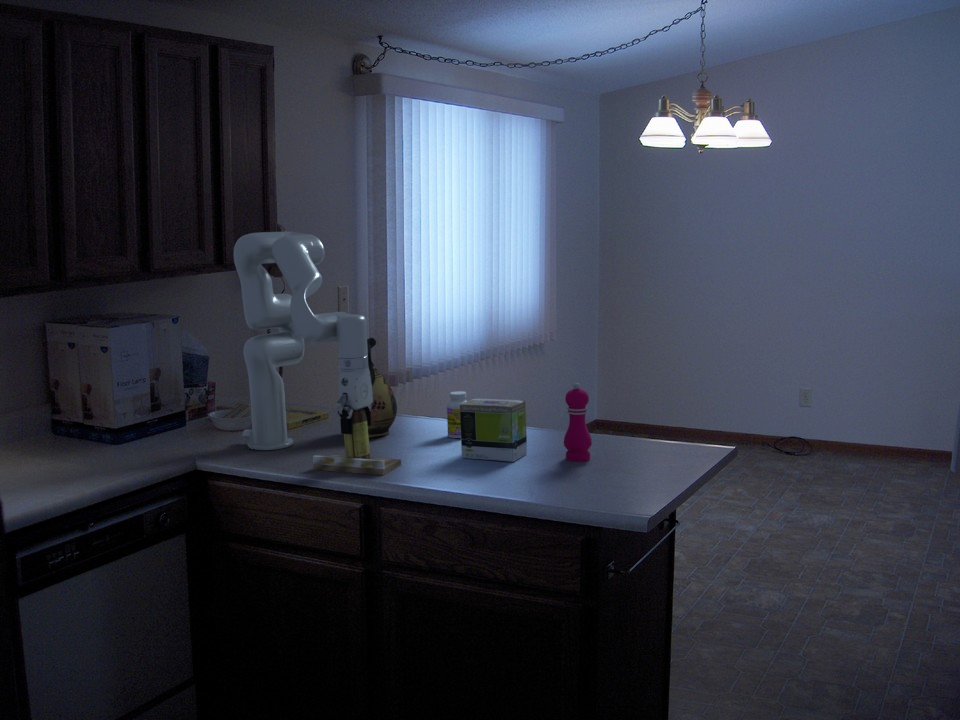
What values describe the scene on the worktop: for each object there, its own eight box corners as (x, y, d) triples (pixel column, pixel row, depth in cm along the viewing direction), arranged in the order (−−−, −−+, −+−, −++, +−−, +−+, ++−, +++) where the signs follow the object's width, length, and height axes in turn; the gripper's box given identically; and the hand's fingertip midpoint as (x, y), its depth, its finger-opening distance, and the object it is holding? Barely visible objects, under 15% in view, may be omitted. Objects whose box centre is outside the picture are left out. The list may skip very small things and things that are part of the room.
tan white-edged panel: (313, 469, 256) (312, 456, 256) (333, 460, 266) (332, 447, 265) (383, 475, 249) (382, 461, 248) (401, 465, 258) (400, 451, 258)
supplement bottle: (443, 437, 288) (441, 393, 286) (457, 433, 293) (455, 389, 291) (461, 440, 284) (459, 395, 282) (475, 435, 289) (474, 391, 287)
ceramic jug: (352, 428, 303) (348, 330, 299) (402, 429, 301) (398, 329, 296) (337, 442, 286) (331, 338, 282) (390, 442, 284) (385, 337, 280)
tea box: (527, 454, 266) (526, 399, 264) (513, 463, 257) (511, 406, 255) (476, 450, 272) (474, 396, 270) (460, 458, 263) (458, 403, 261)
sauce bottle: (373, 458, 260) (369, 382, 257) (366, 464, 254) (361, 387, 251) (349, 457, 261) (345, 382, 258) (341, 464, 255) (336, 387, 252)
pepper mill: (560, 461, 257) (559, 384, 254) (568, 454, 264) (566, 379, 261) (588, 463, 255) (587, 385, 252) (594, 456, 261) (593, 380, 258)
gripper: (349, 369, 244) (353, 438, 247) (382, 358, 260) (385, 423, 263) (322, 368, 247) (326, 436, 250) (356, 358, 263) (359, 421, 266)
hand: (356, 429), depth 256 cm, fingers open, 9 cm apart
